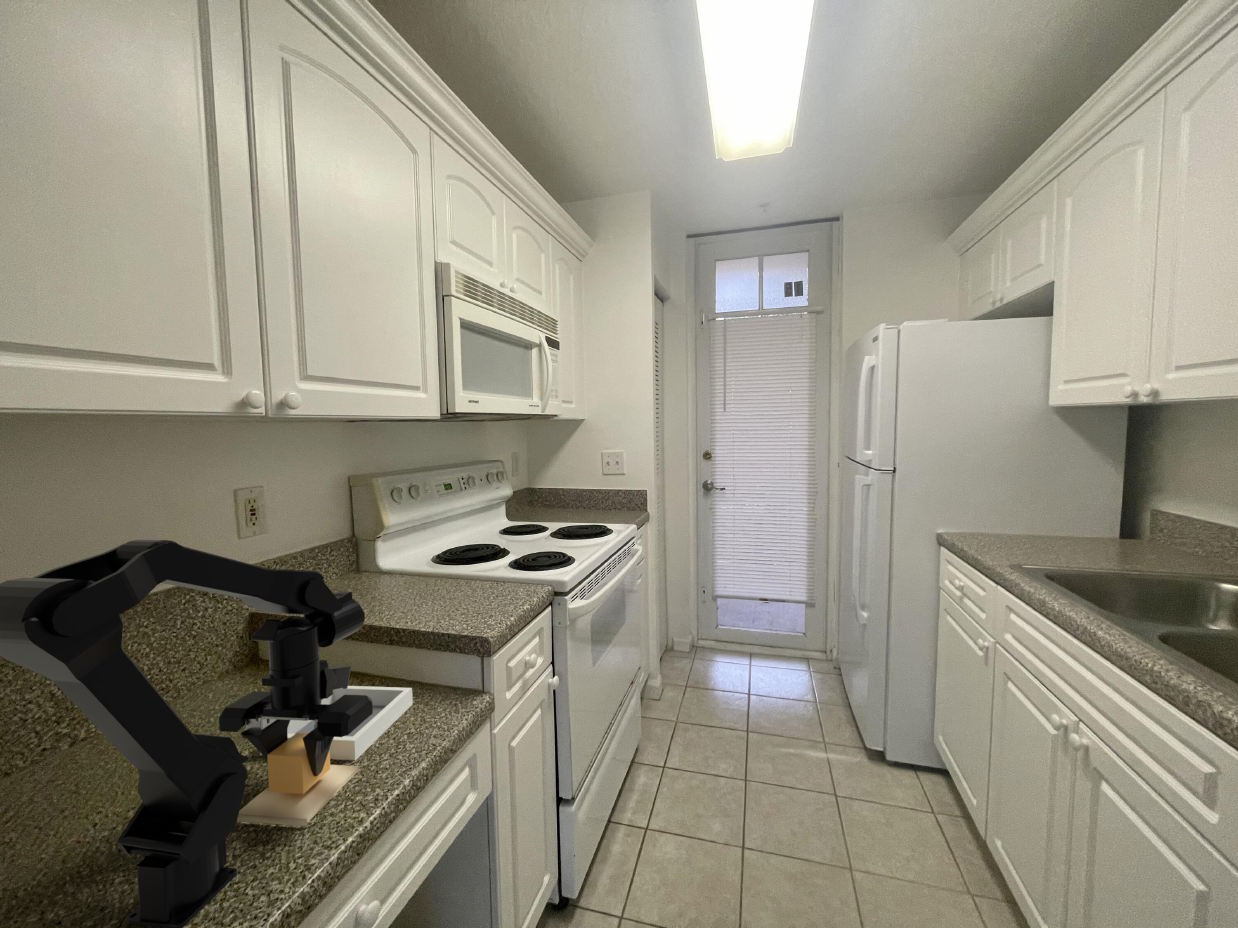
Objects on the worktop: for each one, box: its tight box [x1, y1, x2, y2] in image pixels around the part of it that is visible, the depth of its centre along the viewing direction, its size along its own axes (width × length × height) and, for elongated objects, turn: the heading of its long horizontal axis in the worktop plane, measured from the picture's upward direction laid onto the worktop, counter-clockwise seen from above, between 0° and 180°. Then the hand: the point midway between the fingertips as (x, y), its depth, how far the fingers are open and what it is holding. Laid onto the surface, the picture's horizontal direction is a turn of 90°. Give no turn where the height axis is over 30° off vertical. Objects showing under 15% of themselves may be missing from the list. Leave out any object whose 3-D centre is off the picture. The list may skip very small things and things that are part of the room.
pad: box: [237, 764, 360, 827], centre depth 66 cm, size 10×10×1 cm
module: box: [267, 733, 331, 794], centre depth 66 cm, size 5×5×5 cm
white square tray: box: [259, 685, 414, 761], centre depth 81 cm, size 16×16×4 cm
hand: (300, 773), depth 66 cm, fingers closed on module, 5 cm apart
